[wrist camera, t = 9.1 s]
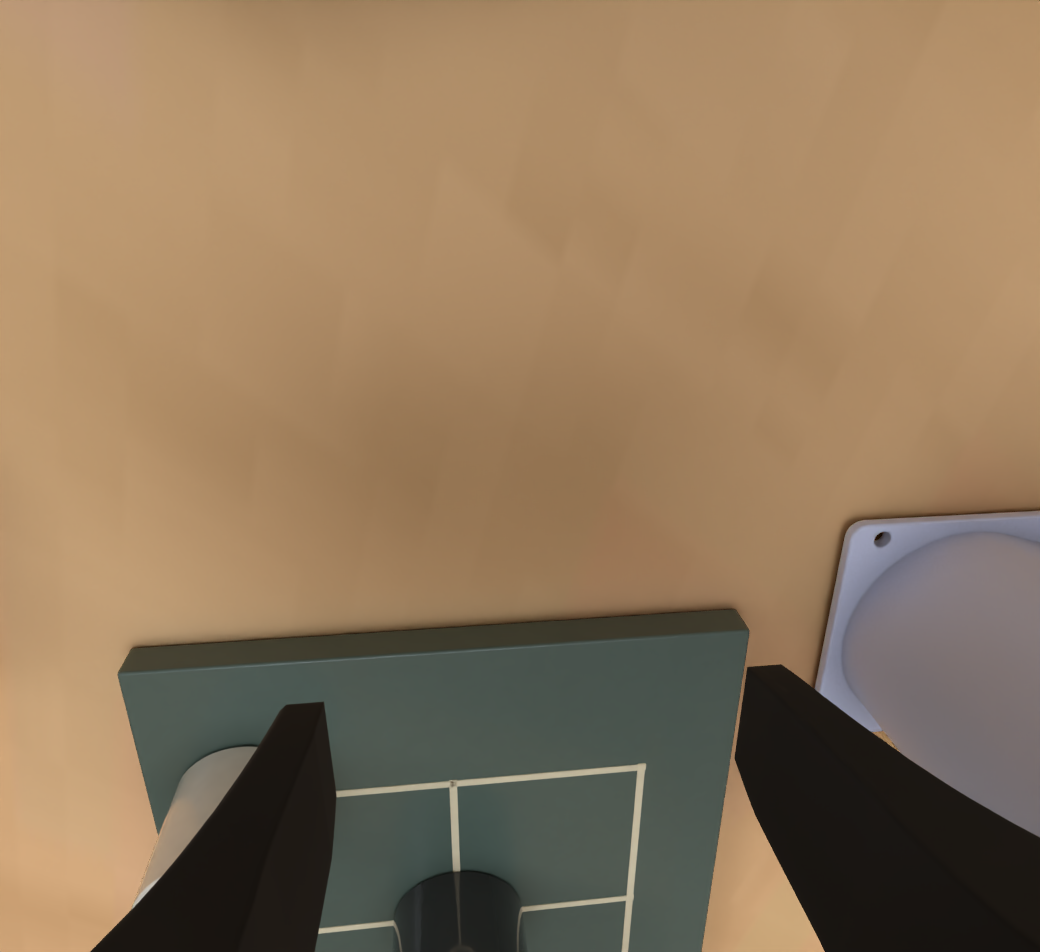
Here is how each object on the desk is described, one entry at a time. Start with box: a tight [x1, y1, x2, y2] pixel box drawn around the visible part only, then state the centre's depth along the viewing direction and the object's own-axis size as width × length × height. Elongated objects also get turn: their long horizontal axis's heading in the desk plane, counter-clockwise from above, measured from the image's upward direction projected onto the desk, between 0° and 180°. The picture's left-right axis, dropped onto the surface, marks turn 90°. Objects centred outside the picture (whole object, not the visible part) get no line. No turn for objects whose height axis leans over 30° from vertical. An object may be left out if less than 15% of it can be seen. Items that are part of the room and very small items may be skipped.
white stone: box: [131, 746, 258, 910], centre depth 21 cm, size 4×4×4 cm
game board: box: [118, 609, 749, 952], centre depth 27 cm, size 18×22×1 cm
